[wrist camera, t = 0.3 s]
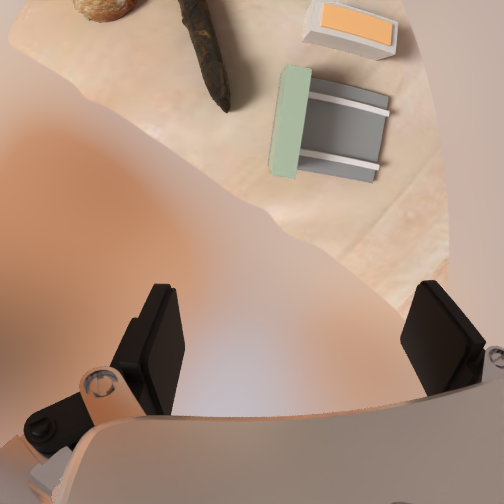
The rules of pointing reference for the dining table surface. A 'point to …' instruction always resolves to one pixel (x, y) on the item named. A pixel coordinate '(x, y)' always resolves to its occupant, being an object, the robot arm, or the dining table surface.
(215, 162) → the dining table surface
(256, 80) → the dining table surface
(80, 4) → the bread roll
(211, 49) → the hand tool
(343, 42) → the holder
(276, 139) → the chute mount
